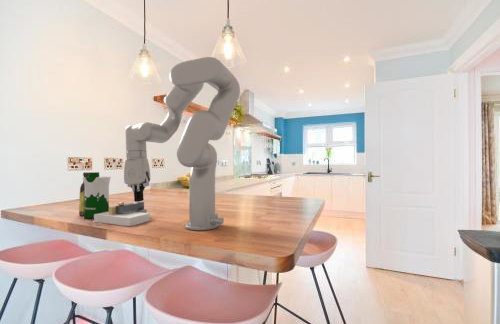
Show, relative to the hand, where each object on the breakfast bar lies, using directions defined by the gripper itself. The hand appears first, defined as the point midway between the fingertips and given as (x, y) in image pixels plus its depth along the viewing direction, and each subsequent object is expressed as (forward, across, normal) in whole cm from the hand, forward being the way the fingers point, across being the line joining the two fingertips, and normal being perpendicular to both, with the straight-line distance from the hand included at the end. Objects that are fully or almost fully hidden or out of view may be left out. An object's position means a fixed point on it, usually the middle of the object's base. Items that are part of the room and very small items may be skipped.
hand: (139, 201), depth 99 cm
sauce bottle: (+7, -36, +3) cm, 37 cm away
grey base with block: (+8, -8, -1) cm, 12 cm away
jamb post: (+8, -8, +7) cm, 14 cm away
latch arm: (+5, -8, +3) cm, 10 cm away
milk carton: (+7, -26, +1) cm, 27 cm away
